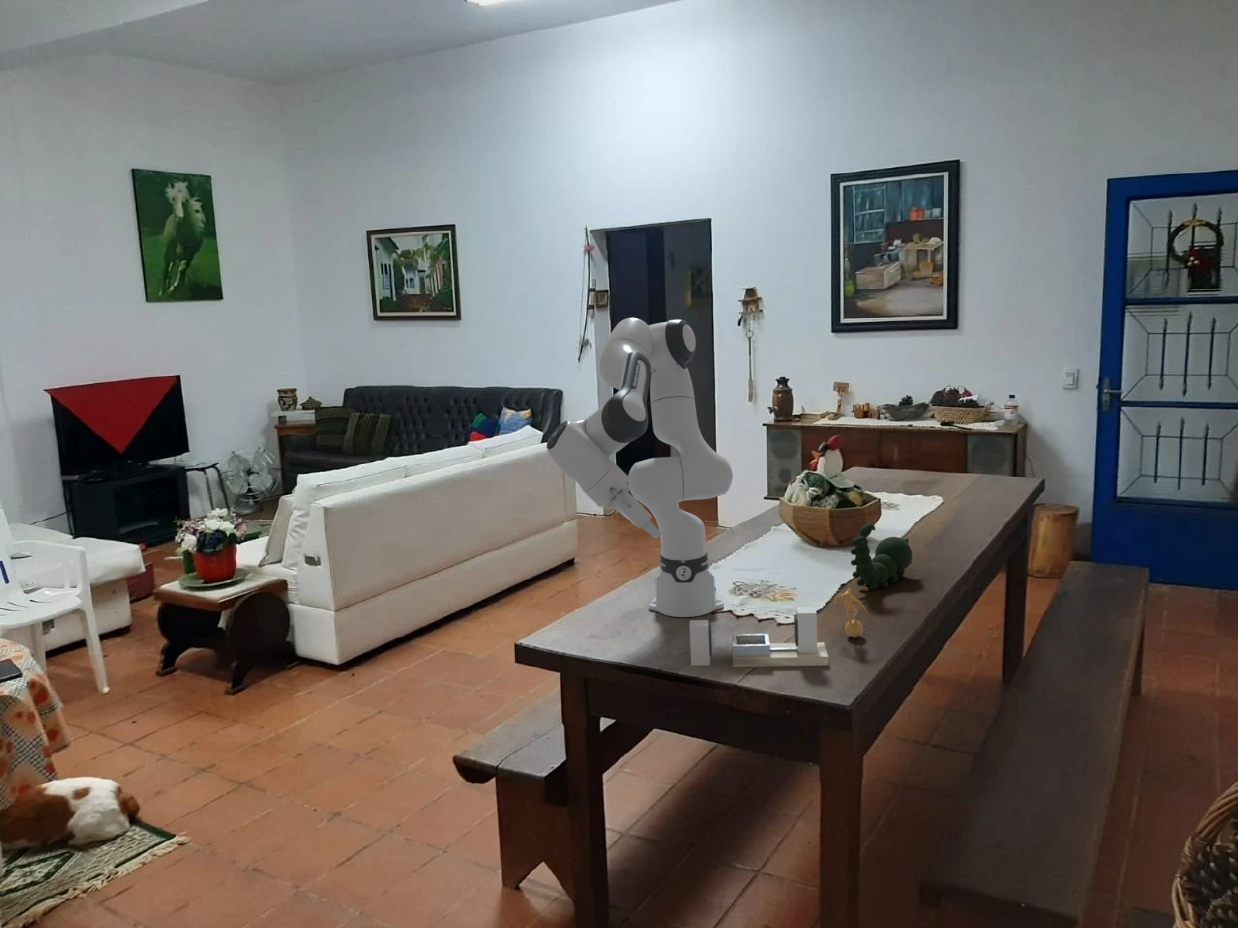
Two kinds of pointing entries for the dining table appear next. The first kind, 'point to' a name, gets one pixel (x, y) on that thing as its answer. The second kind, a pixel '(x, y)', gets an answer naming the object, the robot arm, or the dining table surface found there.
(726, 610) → the dining table surface
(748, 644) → the rail
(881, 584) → the toy figurine
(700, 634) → the block
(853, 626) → the figurine
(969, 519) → the dining table surface
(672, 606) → the robot arm
